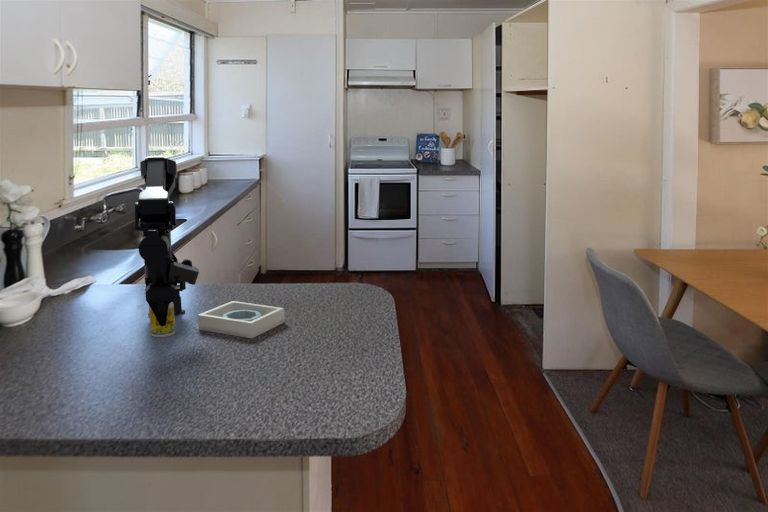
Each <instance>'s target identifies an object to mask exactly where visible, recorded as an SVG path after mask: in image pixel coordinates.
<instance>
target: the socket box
mask: <svg viewBox="0 0 768 512" xmlns="http://www.w3.org/2000/svg"><path fill="white" fill-rule="evenodd" d="M197 322H198V323H197V324H198V330H201V331H207V332H212V333H217V334H218V333H219V334H223V335H230V336H236V337H241V338H248V339H254V338H255V337H257V336H260V335H261V334H265V333H266V332H267V331H271V330H272V329H274V328H276V327H278V326H279V325H281V324H284V323H285V308H284V307H278V306H271V305H264V304H257V303H256V304H255V303H250V302H243V301H236V300H232V301H229V302H226V303H224V304H222V305H219V306H216V307H214V308H211V309H209V310H207V311H204V312H201V313H199V314H197Z"/></svg>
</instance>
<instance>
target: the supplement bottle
mask: <svg viewBox="0 0 768 512" xmlns="http://www.w3.org/2000/svg"><path fill="white" fill-rule="evenodd" d="M148 314H149V316H148V317H149V326H150V327H149V329H150V335H151V336H152V337H154V338H167V337H170V336H174V335H175V334H176V320H175V319H176V318H175V317H176V316H174V304H173V302H171V303H170V304H169V307H168V313H167V320H166V325H165V326H160V324H159V322H158V321H157V319H156V317H155V315H154V313H153V311H152V310H151V308H150V306H149V305H148Z"/></svg>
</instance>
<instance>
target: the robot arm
mask: <svg viewBox="0 0 768 512" xmlns="http://www.w3.org/2000/svg"><path fill="white" fill-rule="evenodd" d="M139 163H140V165H139V166H140V177H141V179H142V180H144V184H145V188H144V190H142V191H141V192H140V193H138V198H137V200H138V201H137V202H134V203H135V204H134V221H135V222H134V223H135V224H134V230H135V232H142V239H141V240H140V242H139V245H138V254H139V256H140V257H141V259H142V260H144V261H143V262H144V285H145V290H144V291H145V292H144V293H145V301H146V303H147V304H148V307H149V306H150V308H151V310H152V311H153V313H154V315H155V317H156V319H157V321H158V322H159V324H160V326H165V325H166V320H167V313H168V307H169V304H170V303H171V302H173V304H174V316H175V317H176V316H179V315H181V314H182V315H183V313H184V314H185V313H186V309H183V307H182V296H181V293H180V292H183V291H184V290H186V289H187V286H186V283H188V284H189V285H192V286H194V285H196V283H197V280H198V278H199V277H198V276H199V273H200V270H199V268H198V267H196V266H193V262H192V260H190V259H187V258H184V259H183V260H182V262H179V261H178V258H177V257H176V255H175V253H174V252H173V250H172V234H171V233H172V232H171V230H174V226H177V213H176V212H177V211H176V210H177V208H176V206H175V205H174V202H173V201H170V196H171V194H172V193H173V191H174V189H175V188H176V179H178V167H177V165H178V164H177V161H176V160H173V159H170V158H168V156H165V155H148V156H146V157H144V160H141V161H140V162H139ZM148 317H150V316H149V313H148Z"/></svg>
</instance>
